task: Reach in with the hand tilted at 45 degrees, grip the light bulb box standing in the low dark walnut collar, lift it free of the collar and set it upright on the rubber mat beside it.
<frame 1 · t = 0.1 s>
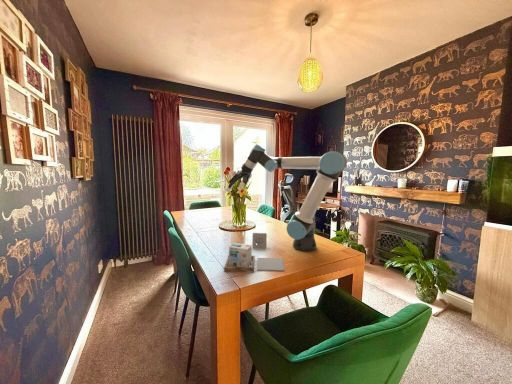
hand: (233, 190, 148), 36 cm above the table, tool tilted 35°, fingers open, 13 cm apart
light bulb box: (240, 265, 115), resting in walnut collar
rubber mat: (270, 264, 116), on the table
walnut collar: (240, 264, 115), on the table
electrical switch: (259, 246, 142), on the table
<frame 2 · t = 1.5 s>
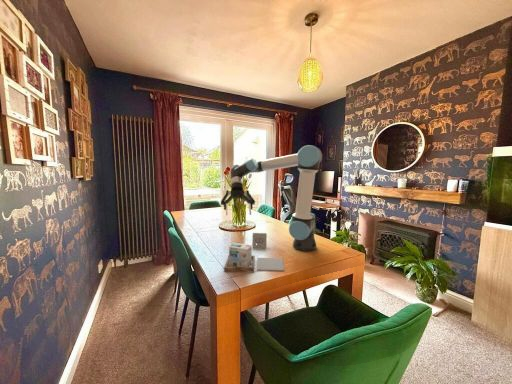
hand: (238, 214, 122), 26 cm above the table, tool tilted 45°, fingers open, 13 cm apart
nothing on the table moved.
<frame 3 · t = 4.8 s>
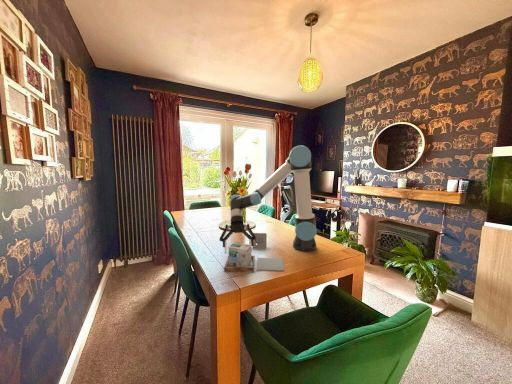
hand: (238, 252, 115), 7 cm above the table, tool tilted 45°, fingers open, 13 cm apart
light bulb box: (240, 264, 115), resting in walnut collar, touching gripper
everything else where it was.
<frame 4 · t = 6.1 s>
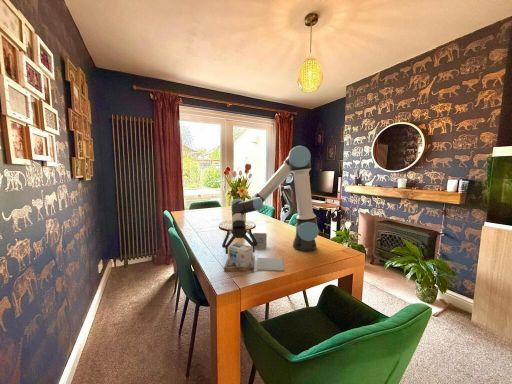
hand: (240, 259, 112), 4 cm above the table, tool tilted 45°, fingers closed on light bulb box, 12 cm apart
light bulb box: (240, 265, 114), resting in walnut collar, touching gripper
everything else where it was.
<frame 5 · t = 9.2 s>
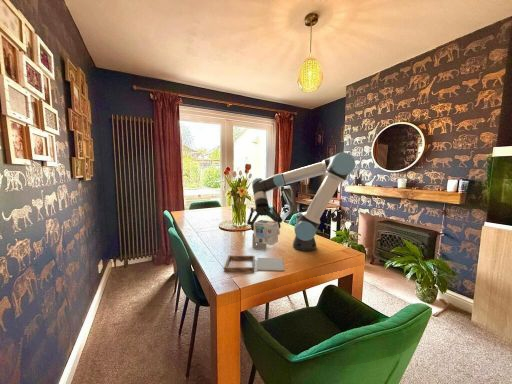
hand: (267, 234, 111), 17 cm above the table, tool tilted 45°, fingers closed on light bulb box, 12 cm apart
light bulb box: (266, 242, 113), point 13 cm above the table, touching gripper
everything else where it was.
when the fingers open (7 cm above the table, at t = 12.1 s): light bulb box drops 2 cm, resting on rubber mat.
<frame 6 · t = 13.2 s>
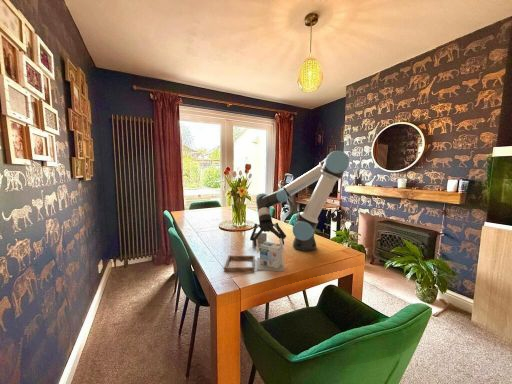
hand: (270, 251, 114), 8 cm above the table, tool tilted 45°, fingers open, 13 cm apart
light bulb box: (271, 264, 115), resting on rubber mat, touching gripper
everything else where it was.
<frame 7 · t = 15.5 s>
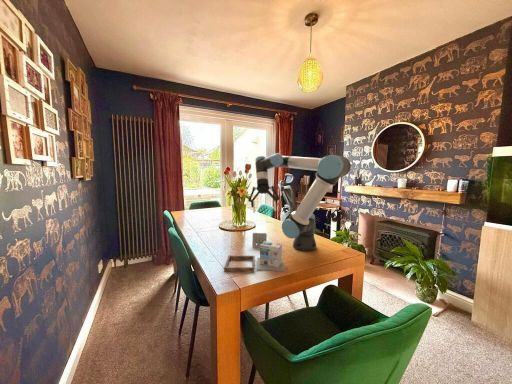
hand: (265, 211, 135), 24 cm above the table, tool tilted 20°, fingers open, 13 cm apart
light bulb box: (270, 263, 116), resting on rubber mat
everything else where it was.
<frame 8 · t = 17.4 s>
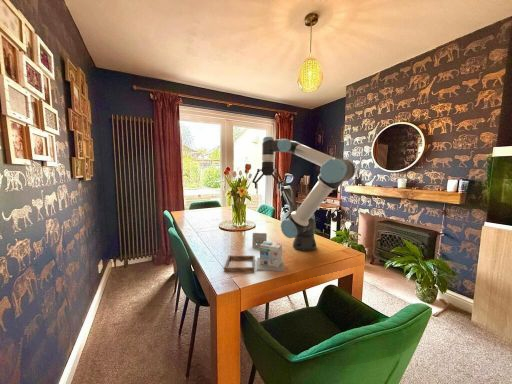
hand: (267, 193, 142), 35 cm above the table, tool pointing down, fingers open, 13 cm apart
nothing on the table moved.
at the end: light bulb box inside the target area on the rubber mat (0.6 cm from its centre), point 0.4 cm above the rubber mat's base; light bulb box tilted 0°; the gripper is holding nothing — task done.
